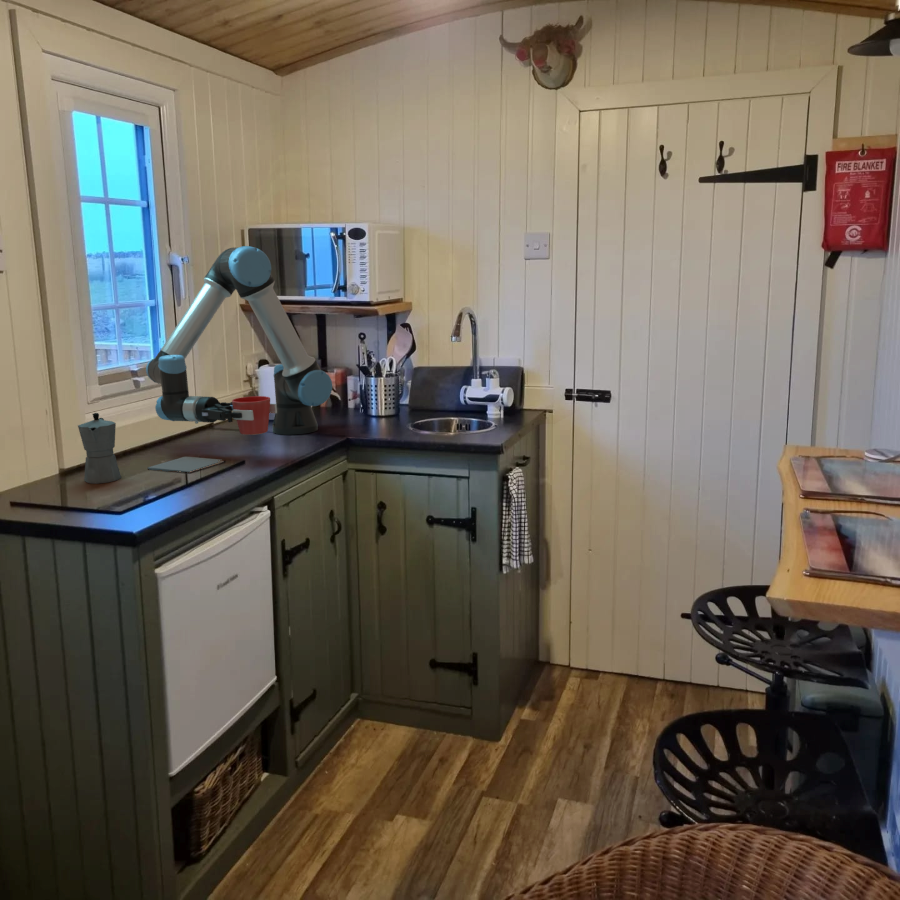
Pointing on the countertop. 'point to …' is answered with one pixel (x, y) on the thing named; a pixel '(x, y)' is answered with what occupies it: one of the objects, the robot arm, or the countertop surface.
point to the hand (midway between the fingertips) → (264, 411)
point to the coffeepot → (99, 450)
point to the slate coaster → (184, 464)
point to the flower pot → (260, 414)
